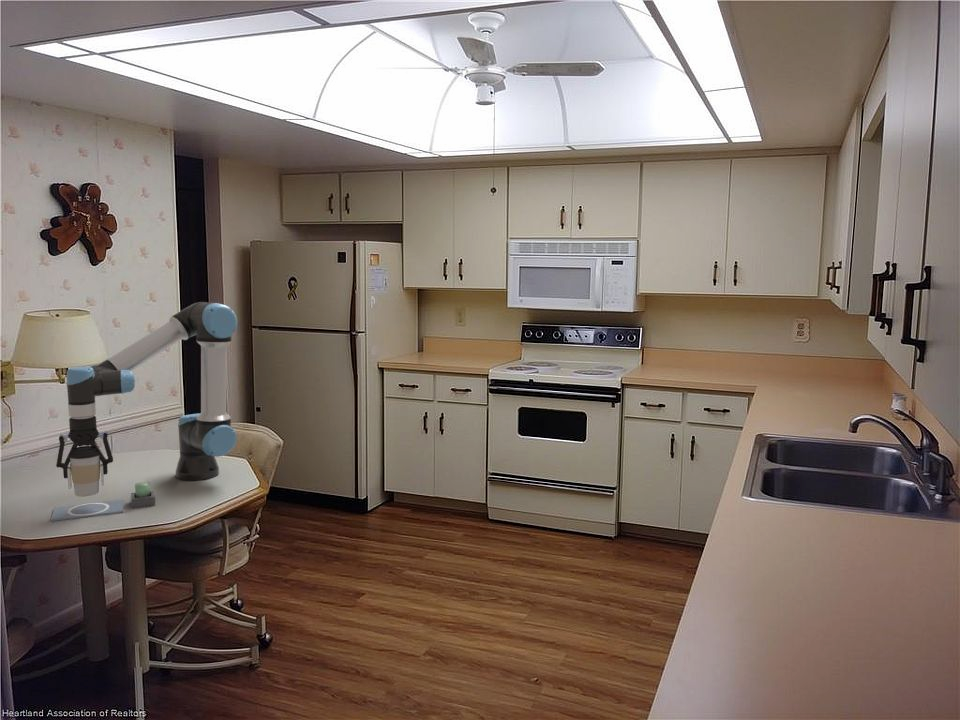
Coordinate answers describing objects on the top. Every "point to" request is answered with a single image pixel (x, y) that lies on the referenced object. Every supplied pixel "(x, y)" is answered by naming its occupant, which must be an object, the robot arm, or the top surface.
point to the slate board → (87, 510)
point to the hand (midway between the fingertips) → (86, 485)
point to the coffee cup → (85, 470)
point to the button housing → (142, 500)
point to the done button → (142, 489)
